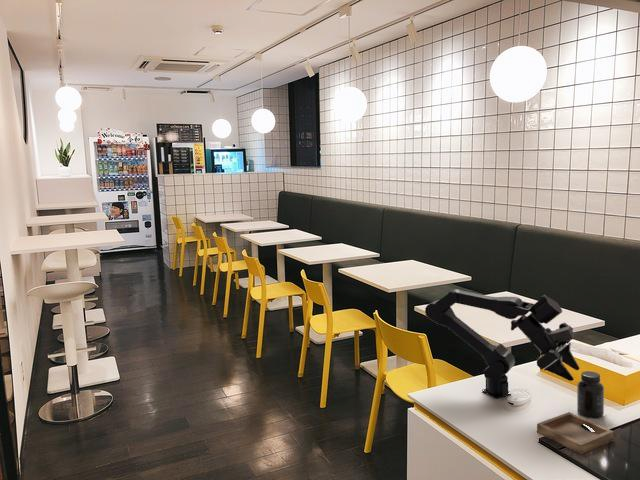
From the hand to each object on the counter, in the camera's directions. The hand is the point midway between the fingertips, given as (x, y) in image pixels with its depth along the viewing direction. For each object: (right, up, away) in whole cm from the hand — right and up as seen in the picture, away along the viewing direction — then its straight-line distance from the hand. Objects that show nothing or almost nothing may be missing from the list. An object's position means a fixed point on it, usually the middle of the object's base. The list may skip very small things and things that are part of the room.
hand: (575, 374), depth 149 cm
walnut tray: (-7, -13, -13) cm, 20 cm away
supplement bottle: (+4, -11, -1) cm, 12 cm away
